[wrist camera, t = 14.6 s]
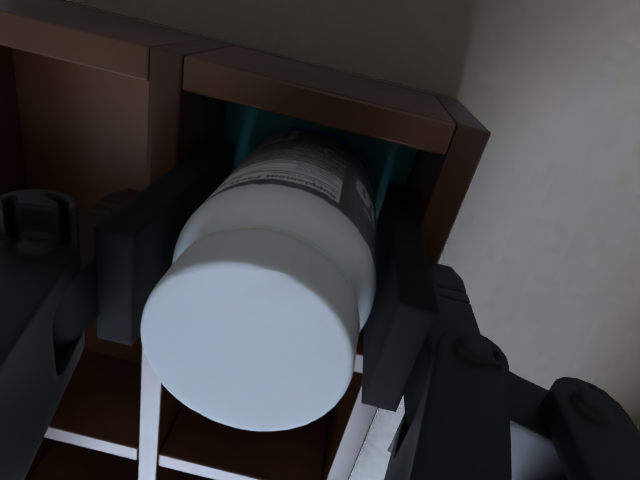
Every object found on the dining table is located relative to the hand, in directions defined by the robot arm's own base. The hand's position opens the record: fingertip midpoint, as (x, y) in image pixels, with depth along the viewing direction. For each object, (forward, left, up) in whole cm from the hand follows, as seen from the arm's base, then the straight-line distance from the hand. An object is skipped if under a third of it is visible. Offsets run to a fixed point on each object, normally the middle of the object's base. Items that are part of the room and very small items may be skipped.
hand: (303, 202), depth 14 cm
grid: (+4, +7, -2) cm, 8 cm away
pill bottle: (0, 0, -1) cm, 1 cm away
